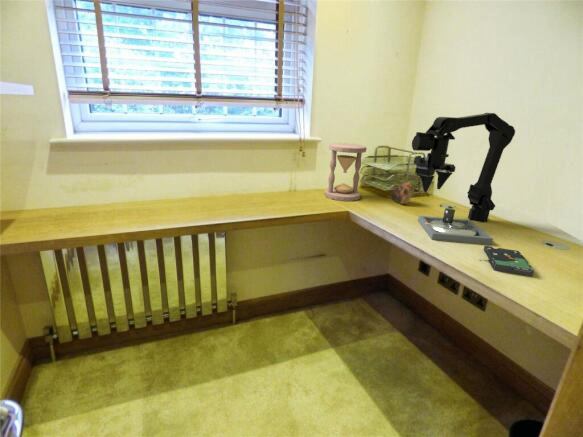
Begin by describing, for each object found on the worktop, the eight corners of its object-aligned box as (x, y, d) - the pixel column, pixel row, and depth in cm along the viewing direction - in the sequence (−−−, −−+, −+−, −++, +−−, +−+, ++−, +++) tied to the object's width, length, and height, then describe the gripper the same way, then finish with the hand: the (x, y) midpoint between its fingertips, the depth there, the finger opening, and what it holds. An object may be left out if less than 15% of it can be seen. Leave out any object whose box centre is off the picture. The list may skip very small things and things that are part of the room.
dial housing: (468, 227, 138) (470, 219, 137) (490, 246, 119) (493, 238, 118) (417, 222, 140) (418, 215, 139) (431, 241, 121) (433, 232, 120)
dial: (482, 242, 121) (487, 223, 119) (435, 238, 122) (439, 219, 120) (465, 226, 136) (469, 209, 134) (424, 223, 137) (427, 206, 135)
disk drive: (481, 253, 115) (493, 272, 102) (483, 245, 114) (495, 263, 101) (516, 258, 113) (533, 278, 99) (518, 250, 112) (535, 269, 98)
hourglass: (355, 192, 181) (361, 144, 173) (364, 202, 164) (371, 148, 156) (322, 191, 180) (326, 142, 171) (327, 200, 163) (332, 146, 155)
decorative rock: (412, 206, 162) (416, 183, 159) (401, 206, 161) (405, 183, 157) (398, 199, 173) (402, 178, 170) (388, 199, 172) (391, 178, 168)
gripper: (433, 147, 144) (427, 183, 149) (406, 149, 134) (400, 188, 139) (459, 150, 136) (451, 189, 141) (432, 153, 125) (425, 195, 130)
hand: (431, 190), depth 138 cm, fingers open, 9 cm apart
